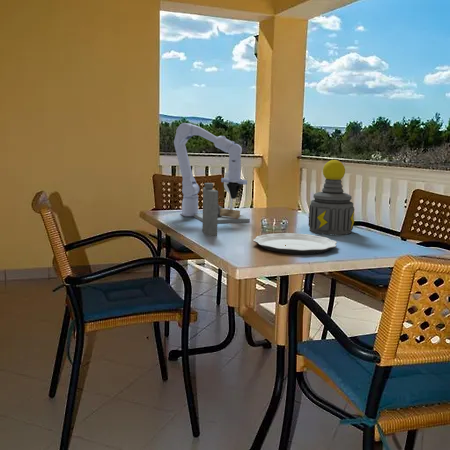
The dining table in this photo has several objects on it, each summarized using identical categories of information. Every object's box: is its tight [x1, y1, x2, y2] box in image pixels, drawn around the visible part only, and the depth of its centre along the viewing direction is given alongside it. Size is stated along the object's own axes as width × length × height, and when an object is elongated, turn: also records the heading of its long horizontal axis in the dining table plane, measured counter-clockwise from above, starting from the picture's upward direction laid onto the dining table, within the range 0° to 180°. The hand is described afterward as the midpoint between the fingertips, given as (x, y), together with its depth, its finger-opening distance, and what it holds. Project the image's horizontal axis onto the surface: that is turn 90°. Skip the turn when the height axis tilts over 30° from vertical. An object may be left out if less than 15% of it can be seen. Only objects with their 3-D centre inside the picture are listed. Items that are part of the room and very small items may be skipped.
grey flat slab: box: [193, 212, 251, 224], centre depth 243 cm, size 20×22×2 cm
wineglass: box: [223, 170, 239, 210], centre depth 260 cm, size 9×9×21 cm
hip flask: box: [201, 182, 219, 237], centre depth 207 cm, size 16×4×20 cm, turn 14°
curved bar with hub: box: [218, 204, 241, 218], centre depth 240 cm, size 19×5×5 cm, turn 57°
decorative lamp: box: [307, 159, 355, 236], centre depth 216 cm, size 19×19×30 cm
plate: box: [252, 232, 338, 255], centre depth 186 cm, size 29×29×2 cm
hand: (233, 198), depth 246 cm, fingers closed
